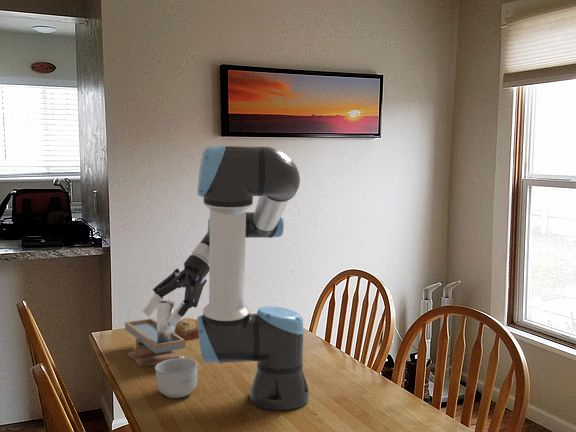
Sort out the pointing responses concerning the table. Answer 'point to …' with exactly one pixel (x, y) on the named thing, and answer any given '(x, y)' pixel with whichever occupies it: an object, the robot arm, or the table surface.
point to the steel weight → (165, 322)
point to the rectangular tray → (152, 336)
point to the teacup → (176, 377)
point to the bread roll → (187, 329)
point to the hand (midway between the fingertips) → (158, 319)
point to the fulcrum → (150, 355)
